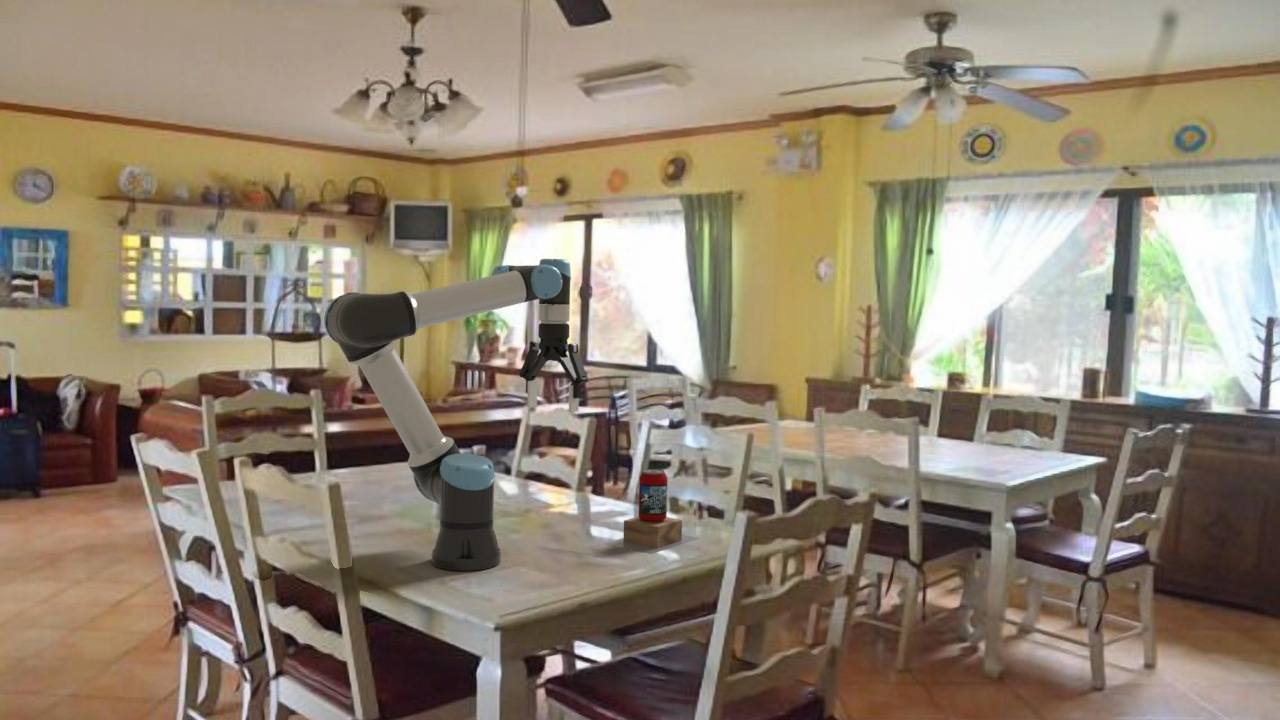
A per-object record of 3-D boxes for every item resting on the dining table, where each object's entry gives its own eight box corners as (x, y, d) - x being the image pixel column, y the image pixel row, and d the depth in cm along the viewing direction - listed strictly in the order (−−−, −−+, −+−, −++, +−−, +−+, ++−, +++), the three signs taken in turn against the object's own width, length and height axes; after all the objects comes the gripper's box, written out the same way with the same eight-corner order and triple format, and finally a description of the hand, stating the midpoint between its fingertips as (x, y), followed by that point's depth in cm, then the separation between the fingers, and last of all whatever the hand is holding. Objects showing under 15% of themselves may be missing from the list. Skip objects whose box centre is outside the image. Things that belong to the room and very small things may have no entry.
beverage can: (642, 523, 239) (643, 473, 239) (635, 517, 246) (636, 468, 245) (670, 522, 241) (671, 472, 240) (661, 516, 248) (663, 468, 247)
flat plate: (651, 558, 232) (651, 553, 232) (603, 548, 240) (603, 543, 240) (699, 543, 248) (699, 538, 248) (653, 533, 256) (653, 529, 256)
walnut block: (657, 548, 237) (657, 527, 236) (623, 541, 243) (623, 520, 242) (681, 540, 245) (682, 520, 244) (648, 533, 251) (648, 513, 250)
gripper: (603, 324, 242) (601, 412, 244) (527, 320, 257) (525, 403, 259) (583, 324, 236) (581, 415, 238) (506, 320, 251) (505, 406, 253)
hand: (552, 409), depth 248 cm, fingers open, 13 cm apart
